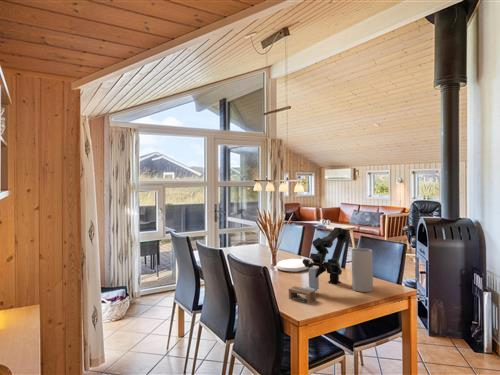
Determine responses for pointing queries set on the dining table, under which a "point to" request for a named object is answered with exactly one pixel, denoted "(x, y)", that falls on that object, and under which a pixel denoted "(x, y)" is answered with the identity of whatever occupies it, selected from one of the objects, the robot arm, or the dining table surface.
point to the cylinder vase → (362, 270)
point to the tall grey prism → (313, 279)
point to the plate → (291, 265)
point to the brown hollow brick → (304, 291)
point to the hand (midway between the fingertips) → (312, 276)
